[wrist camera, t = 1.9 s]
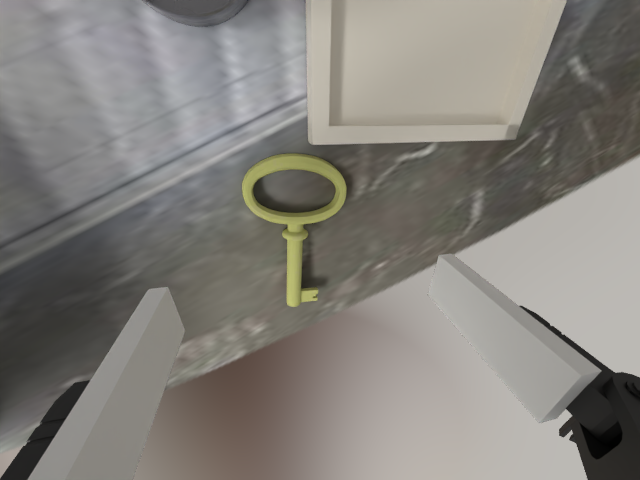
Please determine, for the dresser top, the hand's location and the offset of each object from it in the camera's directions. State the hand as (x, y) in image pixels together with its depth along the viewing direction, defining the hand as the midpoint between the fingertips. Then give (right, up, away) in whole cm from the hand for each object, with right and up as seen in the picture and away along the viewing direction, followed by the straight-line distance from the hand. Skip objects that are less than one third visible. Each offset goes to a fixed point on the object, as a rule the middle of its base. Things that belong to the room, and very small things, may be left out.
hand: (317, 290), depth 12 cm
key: (-2, +4, +7) cm, 8 cm away
